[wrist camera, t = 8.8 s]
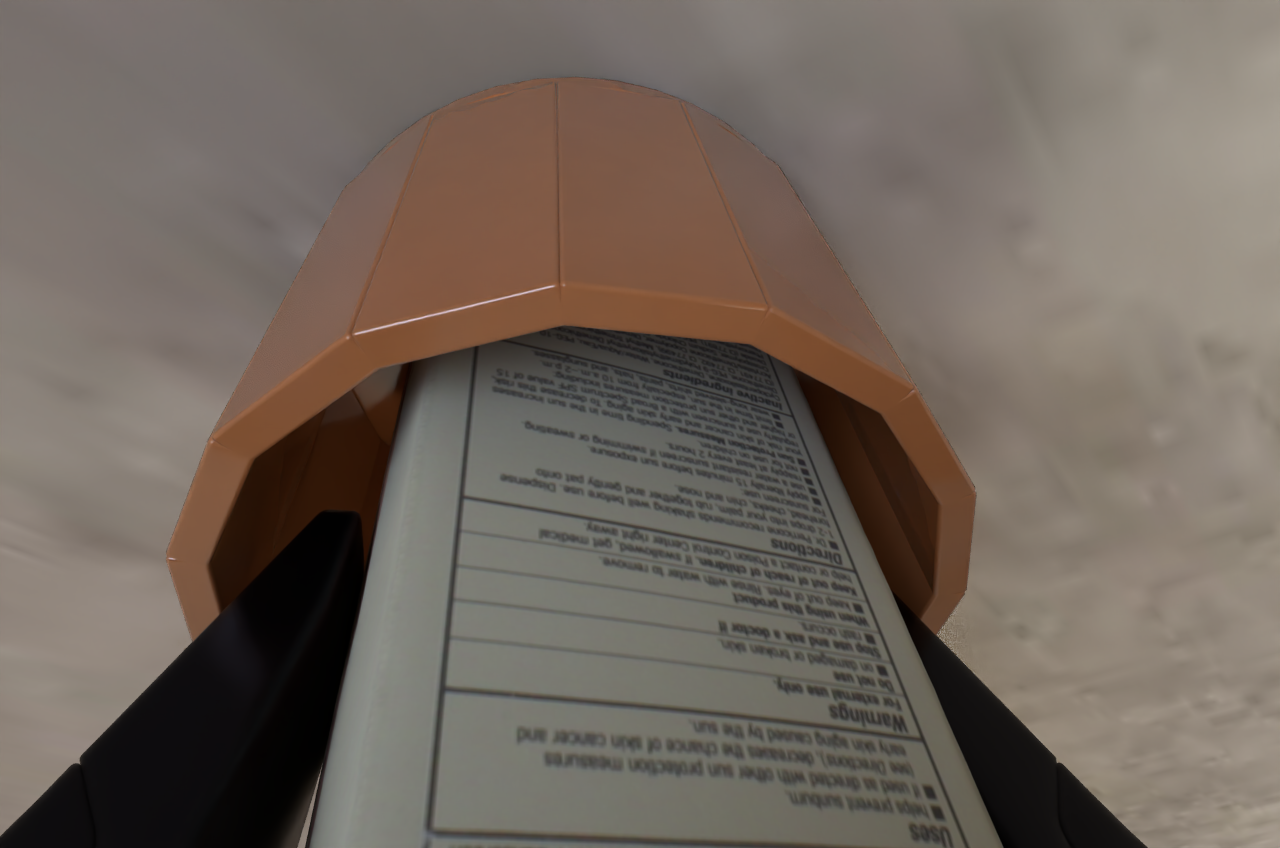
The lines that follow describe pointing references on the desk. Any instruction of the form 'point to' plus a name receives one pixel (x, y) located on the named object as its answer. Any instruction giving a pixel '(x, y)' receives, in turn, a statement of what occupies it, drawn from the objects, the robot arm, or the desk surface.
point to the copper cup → (559, 319)
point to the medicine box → (628, 620)
